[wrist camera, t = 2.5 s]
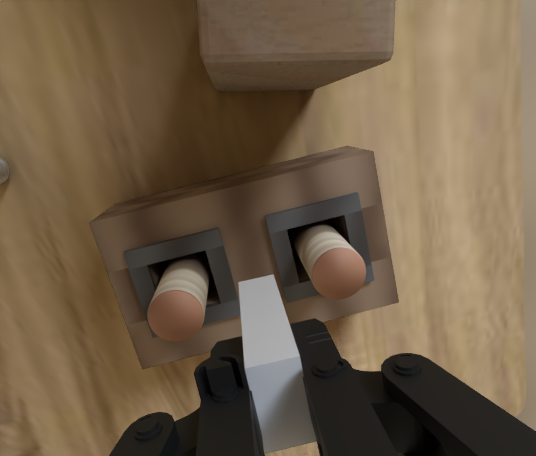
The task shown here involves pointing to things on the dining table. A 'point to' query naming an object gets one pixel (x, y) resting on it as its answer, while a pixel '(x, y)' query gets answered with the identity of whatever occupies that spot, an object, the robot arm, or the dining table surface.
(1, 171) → the lightbulb
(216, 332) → the socket block
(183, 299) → the peg
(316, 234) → the peg
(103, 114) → the dining table surface
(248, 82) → the wooden block
